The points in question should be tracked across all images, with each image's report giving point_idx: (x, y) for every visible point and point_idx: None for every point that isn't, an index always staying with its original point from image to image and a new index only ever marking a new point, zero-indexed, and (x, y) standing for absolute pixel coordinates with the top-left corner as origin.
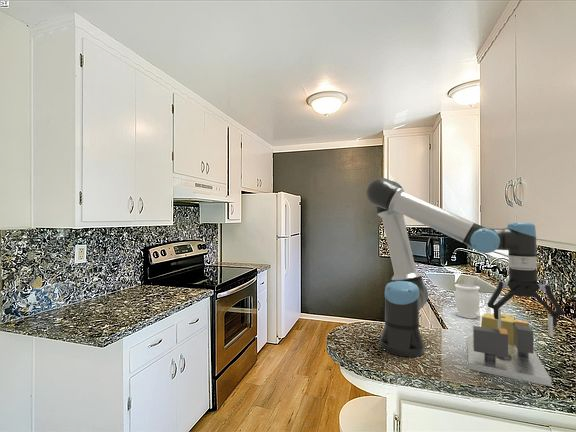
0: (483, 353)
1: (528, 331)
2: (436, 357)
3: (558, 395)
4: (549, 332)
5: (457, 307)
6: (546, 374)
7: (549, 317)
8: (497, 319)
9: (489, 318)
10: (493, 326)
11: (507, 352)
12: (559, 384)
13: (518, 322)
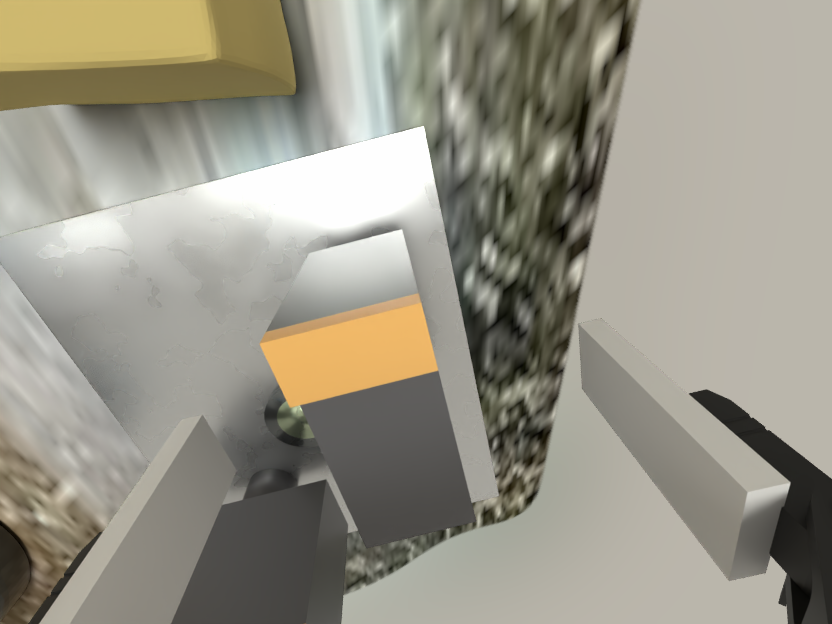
0: (219, 441)
1: (442, 525)
2: (82, 530)
3: (505, 511)
4: (597, 390)
5: None
6: (485, 467)
7: (714, 555)
8: None
9: None
10: (37, 90)
11: (344, 549)
12: (517, 437)
13: (334, 393)
